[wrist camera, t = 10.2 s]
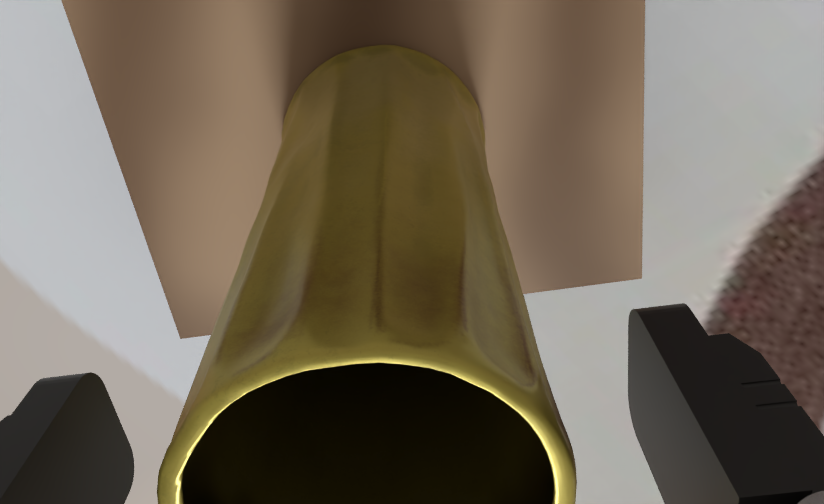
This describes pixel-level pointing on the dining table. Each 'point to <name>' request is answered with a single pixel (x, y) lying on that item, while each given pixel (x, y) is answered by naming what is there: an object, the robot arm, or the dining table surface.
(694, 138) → the dining table surface
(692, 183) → the dining table surface
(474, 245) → the vase
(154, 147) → the walnut shelf
